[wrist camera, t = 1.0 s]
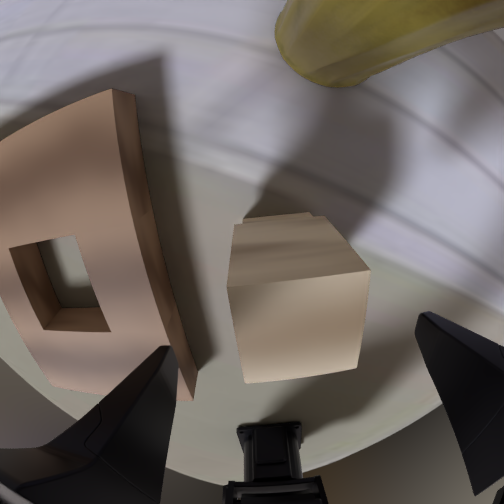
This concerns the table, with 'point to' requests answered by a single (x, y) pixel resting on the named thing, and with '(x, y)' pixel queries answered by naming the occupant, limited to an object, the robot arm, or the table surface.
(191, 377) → the board
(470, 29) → the vase
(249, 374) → the peg
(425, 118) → the table surface
